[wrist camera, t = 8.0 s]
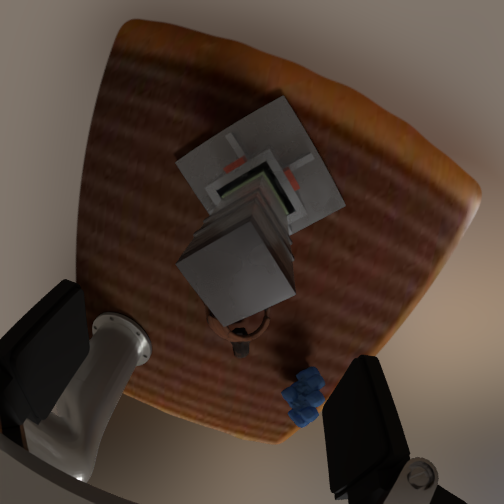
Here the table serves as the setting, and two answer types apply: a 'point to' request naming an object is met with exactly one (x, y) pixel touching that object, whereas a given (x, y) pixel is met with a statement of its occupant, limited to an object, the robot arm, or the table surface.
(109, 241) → the table surface
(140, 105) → the table surface
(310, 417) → the blue lumpy cluster
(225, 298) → the column
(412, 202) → the table surface
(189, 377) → the table surface
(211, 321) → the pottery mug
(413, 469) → the robot arm
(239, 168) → the stand base
